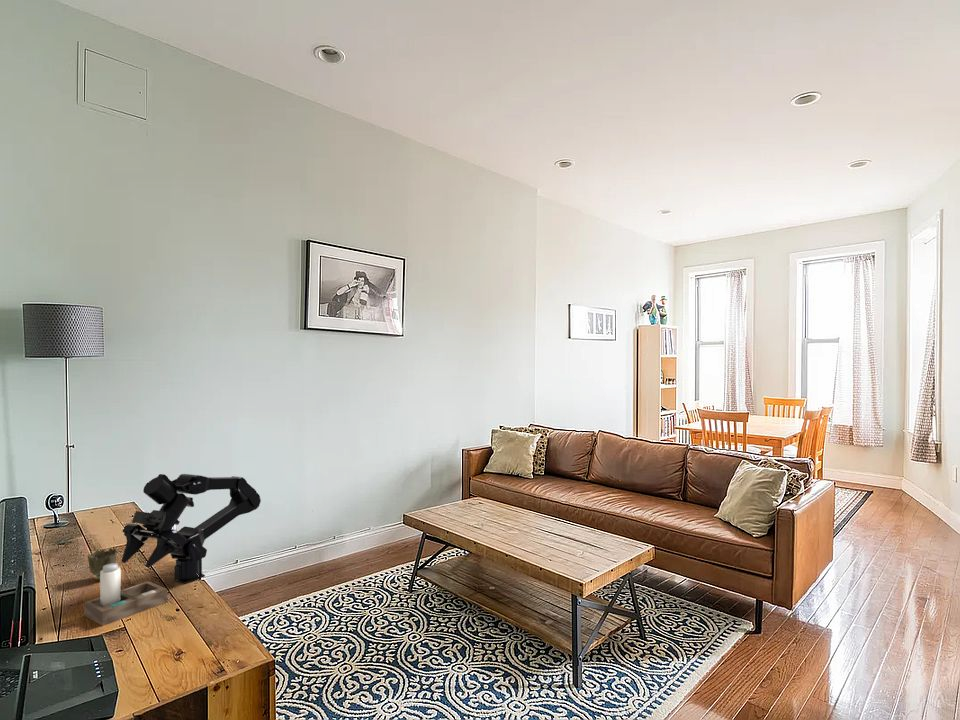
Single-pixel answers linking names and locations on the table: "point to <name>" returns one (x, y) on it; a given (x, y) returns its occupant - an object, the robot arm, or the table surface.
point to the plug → (110, 585)
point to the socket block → (126, 603)
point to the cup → (101, 560)
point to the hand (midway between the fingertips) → (134, 564)
